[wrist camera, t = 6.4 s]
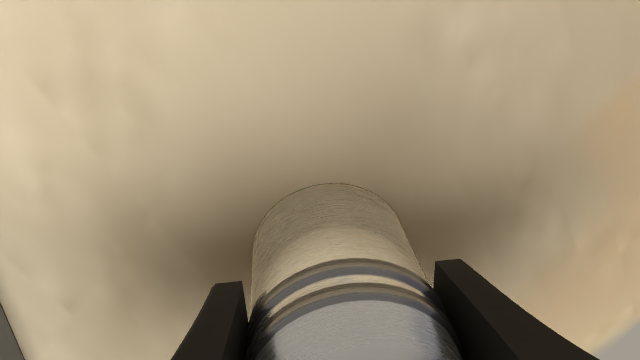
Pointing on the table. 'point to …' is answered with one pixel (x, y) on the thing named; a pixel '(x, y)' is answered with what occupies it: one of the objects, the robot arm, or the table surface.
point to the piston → (341, 284)
